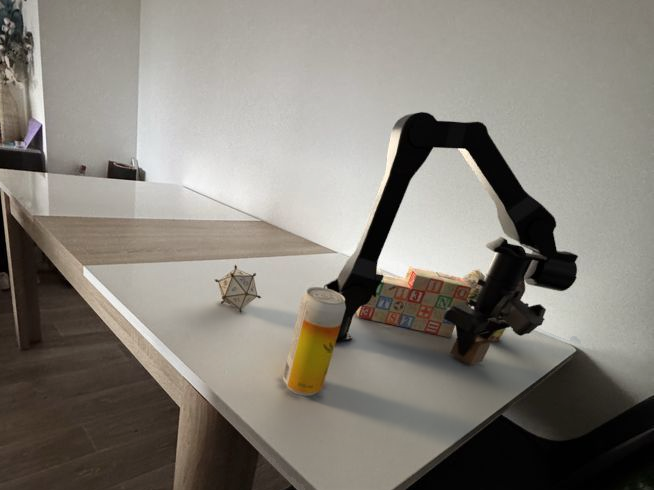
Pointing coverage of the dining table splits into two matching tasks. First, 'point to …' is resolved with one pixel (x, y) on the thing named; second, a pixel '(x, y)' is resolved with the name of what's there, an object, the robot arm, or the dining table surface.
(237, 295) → the game die
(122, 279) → the dining table surface
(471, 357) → the wooden cube
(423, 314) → the stack of blocks
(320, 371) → the beer can
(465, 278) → the plant with pod
